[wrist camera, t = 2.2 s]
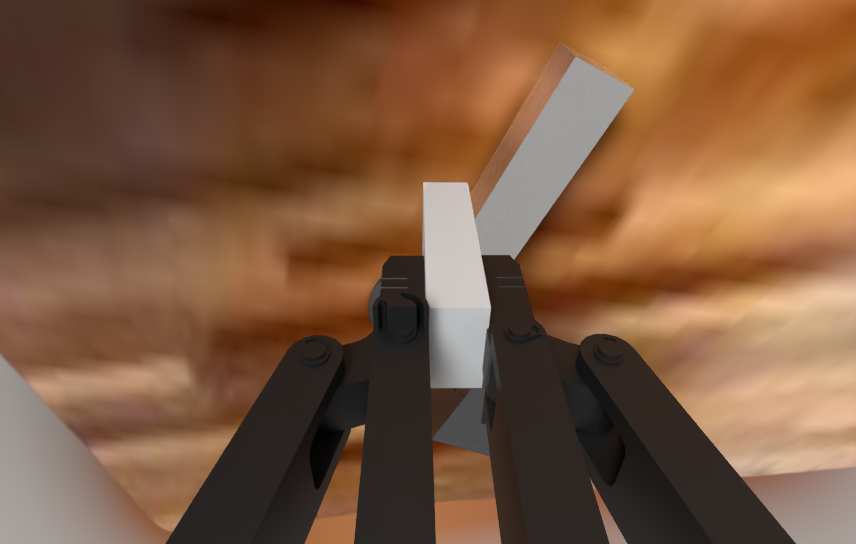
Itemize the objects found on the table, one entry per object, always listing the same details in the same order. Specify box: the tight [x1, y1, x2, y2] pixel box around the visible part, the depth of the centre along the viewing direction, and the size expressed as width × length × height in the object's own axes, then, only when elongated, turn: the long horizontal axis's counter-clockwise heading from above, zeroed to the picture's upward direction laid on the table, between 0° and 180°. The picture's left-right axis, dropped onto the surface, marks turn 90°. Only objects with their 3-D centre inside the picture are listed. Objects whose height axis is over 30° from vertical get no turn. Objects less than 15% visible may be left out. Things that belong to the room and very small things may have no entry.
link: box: [470, 42, 635, 259], centre depth 31 cm, size 22×5×3 cm, turn 154°
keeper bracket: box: [369, 278, 565, 456], centre depth 36 cm, size 16×11×6 cm
